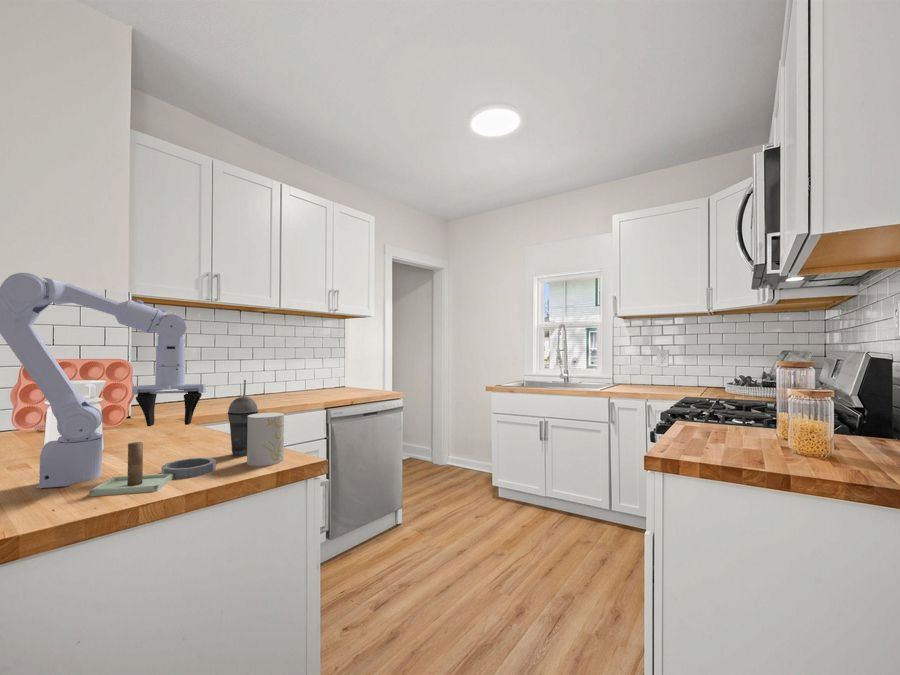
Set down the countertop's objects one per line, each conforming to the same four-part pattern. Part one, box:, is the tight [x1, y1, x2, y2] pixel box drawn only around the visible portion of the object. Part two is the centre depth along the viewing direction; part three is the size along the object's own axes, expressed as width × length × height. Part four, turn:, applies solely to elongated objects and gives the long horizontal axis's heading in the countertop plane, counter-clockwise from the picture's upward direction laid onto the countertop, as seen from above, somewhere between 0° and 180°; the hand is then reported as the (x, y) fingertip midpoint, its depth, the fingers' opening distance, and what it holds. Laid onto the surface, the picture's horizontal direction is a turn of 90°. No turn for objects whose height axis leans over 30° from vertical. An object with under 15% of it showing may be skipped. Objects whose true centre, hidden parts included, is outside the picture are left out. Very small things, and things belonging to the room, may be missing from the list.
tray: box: [89, 473, 174, 497], centre depth 86 cm, size 11×9×2 cm
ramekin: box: [160, 457, 217, 480], centre depth 96 cm, size 10×10×3 cm
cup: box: [246, 412, 285, 467], centre depth 105 cm, size 8×8×12 cm
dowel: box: [127, 441, 144, 486], centre depth 86 cm, size 2×2×8 cm
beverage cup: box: [227, 379, 259, 457], centre depth 113 cm, size 7×7×20 cm
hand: (169, 424), depth 101 cm, fingers open, 7 cm apart
